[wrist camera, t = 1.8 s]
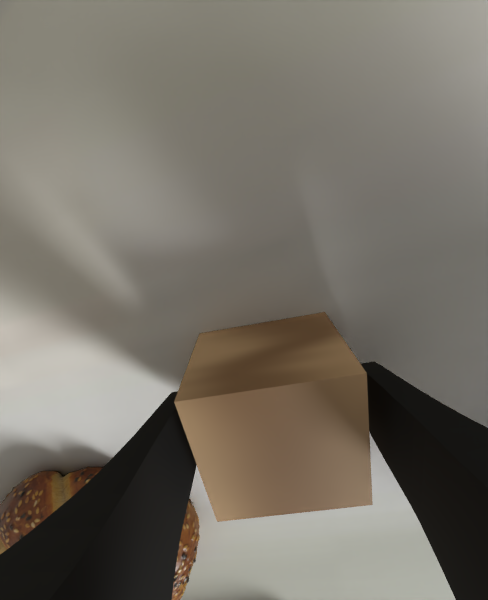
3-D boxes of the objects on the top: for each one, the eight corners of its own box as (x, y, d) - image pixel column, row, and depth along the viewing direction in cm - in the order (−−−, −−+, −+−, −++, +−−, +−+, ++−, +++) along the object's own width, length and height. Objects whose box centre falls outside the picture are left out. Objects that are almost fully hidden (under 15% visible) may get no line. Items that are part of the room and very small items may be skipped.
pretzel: (150, 424, 13) (115, 507, 9) (237, 550, 16) (235, 645, 13) (-43, 488, 14) (-135, 579, 11) (74, 590, 18) (32, 684, 14)
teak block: (323, 310, 10) (366, 373, 7) (333, 410, 12) (372, 504, 8) (200, 332, 11) (174, 401, 7) (226, 425, 12) (217, 521, 9)
